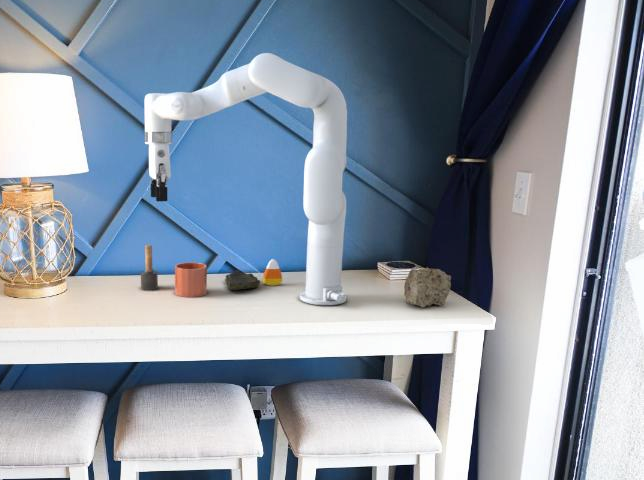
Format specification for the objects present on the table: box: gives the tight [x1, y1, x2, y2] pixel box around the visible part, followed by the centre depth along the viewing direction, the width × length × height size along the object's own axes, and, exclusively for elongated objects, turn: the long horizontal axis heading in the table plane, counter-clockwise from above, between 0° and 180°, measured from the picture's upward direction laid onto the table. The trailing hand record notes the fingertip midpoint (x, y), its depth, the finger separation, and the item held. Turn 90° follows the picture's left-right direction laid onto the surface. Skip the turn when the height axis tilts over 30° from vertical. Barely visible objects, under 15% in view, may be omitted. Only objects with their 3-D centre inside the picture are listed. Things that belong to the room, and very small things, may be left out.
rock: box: [403, 267, 452, 308], centre depth 171 cm, size 11×12×10 cm
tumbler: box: [174, 262, 208, 298], centre depth 182 cm, size 9×9×8 cm
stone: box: [224, 269, 261, 291], centre depth 191 cm, size 19×4×10 cm
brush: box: [140, 244, 159, 291], centre depth 187 cm, size 5×5×13 cm
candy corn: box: [262, 258, 283, 287], centre depth 191 cm, size 6×3×8 cm, turn 93°
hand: (158, 199), depth 185 cm, fingers open, 9 cm apart
